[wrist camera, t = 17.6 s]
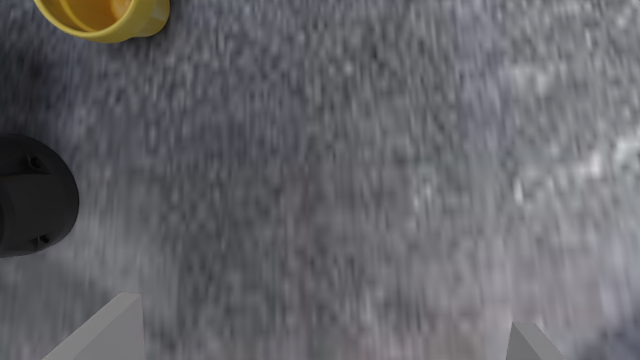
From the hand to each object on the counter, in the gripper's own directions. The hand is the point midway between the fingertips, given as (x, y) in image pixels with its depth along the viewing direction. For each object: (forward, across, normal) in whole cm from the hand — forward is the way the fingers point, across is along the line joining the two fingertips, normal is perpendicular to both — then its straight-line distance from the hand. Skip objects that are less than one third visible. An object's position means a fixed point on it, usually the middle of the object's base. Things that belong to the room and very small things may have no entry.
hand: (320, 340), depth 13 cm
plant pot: (+32, -23, +18) cm, 43 cm away
